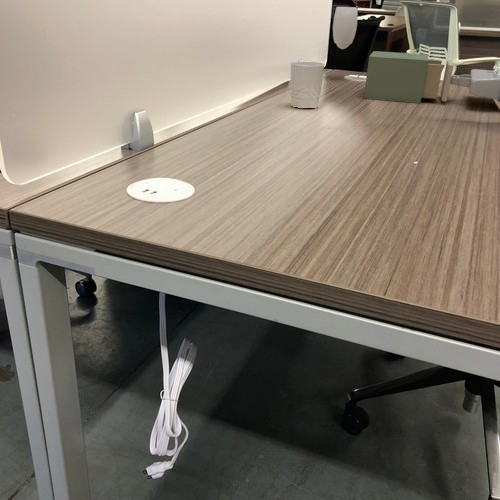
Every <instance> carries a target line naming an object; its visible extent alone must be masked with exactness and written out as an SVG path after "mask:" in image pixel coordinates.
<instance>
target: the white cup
mask: <svg viewBox="0 0 500 500" xmlns="http://www.w3.org/2000/svg"><path fill="white" fill-rule="evenodd" d="M324 71H325V63H323V62H318V61H310V60H309V61H308V60H307V61H306V60H301V61H300V60H298V61H297V60H296V61H292V62H290V86H289V87H290V88H289V89H290V107H292V106H293V107H292V108H294V107H298V108H315V109H318V108H319V103H320V97H321V91H322V85H323V78H324ZM317 107H318V108H317ZM298 108H297V109H298Z"/></svg>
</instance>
